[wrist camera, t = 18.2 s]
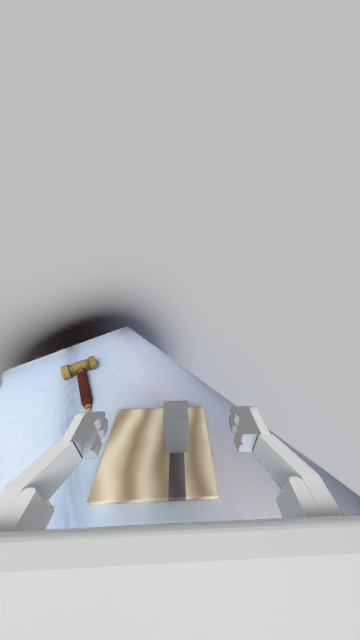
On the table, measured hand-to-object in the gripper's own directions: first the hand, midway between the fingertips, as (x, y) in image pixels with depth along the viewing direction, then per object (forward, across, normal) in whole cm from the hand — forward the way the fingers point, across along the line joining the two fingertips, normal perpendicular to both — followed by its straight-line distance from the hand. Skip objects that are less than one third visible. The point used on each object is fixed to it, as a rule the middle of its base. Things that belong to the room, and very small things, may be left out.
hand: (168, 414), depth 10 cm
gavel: (+29, +29, +31) cm, 51 cm away
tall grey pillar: (+12, 0, +28) cm, 31 cm away
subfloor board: (+12, +4, +30) cm, 33 cm away
